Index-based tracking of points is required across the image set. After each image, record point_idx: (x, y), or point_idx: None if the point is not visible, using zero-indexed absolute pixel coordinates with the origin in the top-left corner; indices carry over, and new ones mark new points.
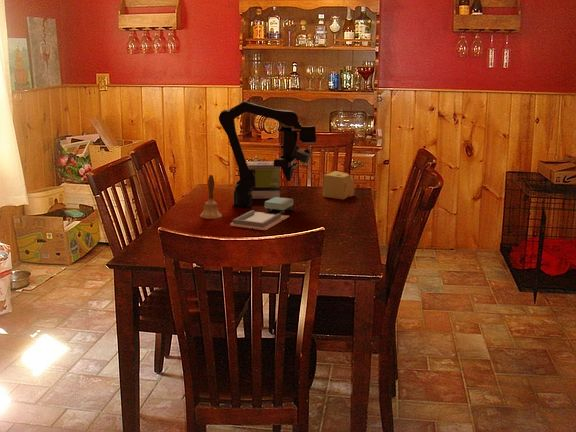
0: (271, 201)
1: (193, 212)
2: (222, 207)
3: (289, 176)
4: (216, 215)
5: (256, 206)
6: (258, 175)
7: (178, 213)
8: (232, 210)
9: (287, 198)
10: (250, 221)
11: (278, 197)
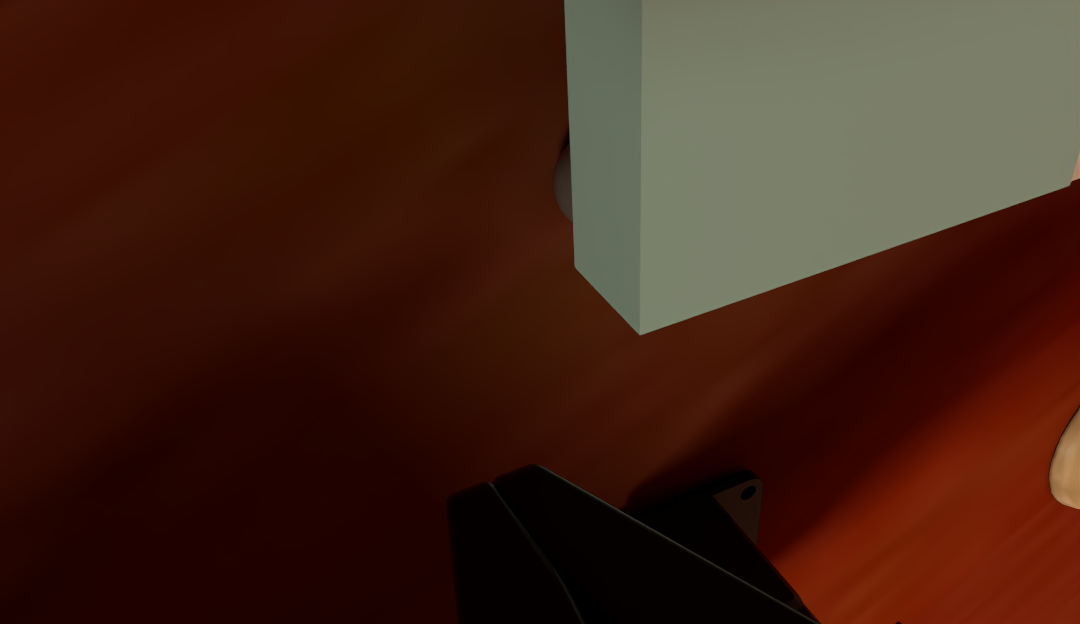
0: (1020, 112)
1: (1032, 591)
2: None
3: (745, 603)
4: None
5: (600, 456)
6: None
7: (1075, 618)
8: (894, 469)
9: (662, 4)
10: None
11: (655, 246)
